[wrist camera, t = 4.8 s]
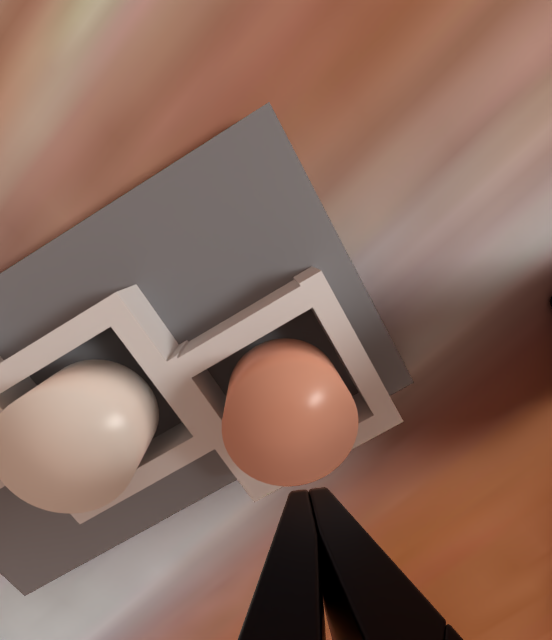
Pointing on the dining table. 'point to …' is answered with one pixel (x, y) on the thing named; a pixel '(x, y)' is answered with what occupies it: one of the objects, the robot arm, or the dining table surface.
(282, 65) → the dining table surface
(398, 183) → the dining table surface
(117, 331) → the button panel
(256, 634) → the robot arm
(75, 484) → the white button
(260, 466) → the terracotta button
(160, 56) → the dining table surface
